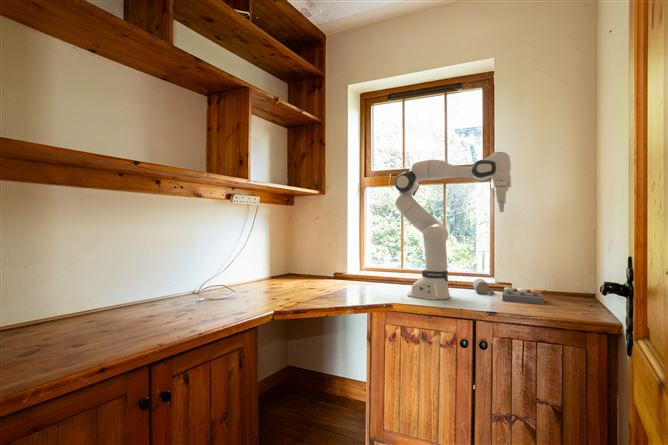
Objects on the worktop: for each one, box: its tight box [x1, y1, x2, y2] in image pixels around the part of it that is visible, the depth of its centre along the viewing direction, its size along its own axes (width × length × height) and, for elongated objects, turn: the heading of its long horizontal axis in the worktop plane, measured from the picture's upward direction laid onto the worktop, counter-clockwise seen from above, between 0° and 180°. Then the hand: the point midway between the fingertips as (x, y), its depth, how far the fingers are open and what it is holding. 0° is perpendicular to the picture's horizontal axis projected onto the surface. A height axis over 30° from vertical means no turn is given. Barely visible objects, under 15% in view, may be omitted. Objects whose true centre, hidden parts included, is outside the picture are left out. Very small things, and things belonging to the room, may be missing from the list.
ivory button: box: [516, 287, 528, 295], centre depth 175 cm, size 4×4×4 cm
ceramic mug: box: [472, 278, 495, 295], centre depth 193 cm, size 11×8×8 cm
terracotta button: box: [530, 288, 542, 296], centre depth 172 cm, size 4×4×4 cm
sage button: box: [503, 286, 515, 294], centre depth 177 cm, size 4×4×4 cm
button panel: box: [501, 290, 545, 305], centre depth 174 cm, size 18×12×3 cm, turn 63°
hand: (501, 211), depth 171 cm, fingers open, 8 cm apart
